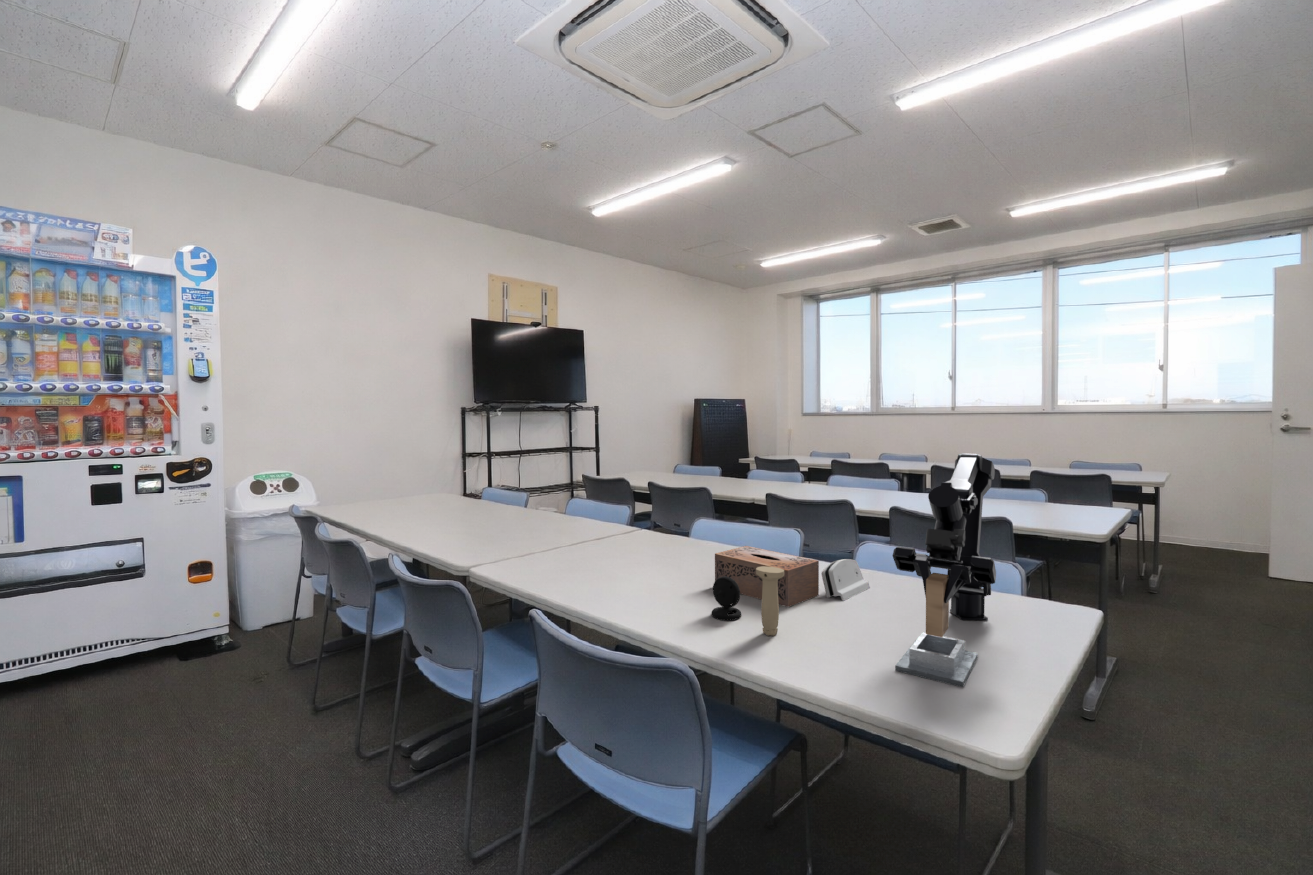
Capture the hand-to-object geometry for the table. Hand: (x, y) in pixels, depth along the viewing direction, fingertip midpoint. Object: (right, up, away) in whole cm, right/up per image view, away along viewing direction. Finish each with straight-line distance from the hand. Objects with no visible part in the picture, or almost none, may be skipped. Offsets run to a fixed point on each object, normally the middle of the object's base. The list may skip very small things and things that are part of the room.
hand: (935, 600), depth 116 cm
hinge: (-2, -12, +50) cm, 51 cm away
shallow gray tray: (+1, -13, +2) cm, 13 cm away
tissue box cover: (-24, -12, +51) cm, 58 cm away
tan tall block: (+1, -7, +1) cm, 7 cm away
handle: (-29, -13, +19) cm, 37 cm away
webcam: (-38, -13, +31) cm, 51 cm away
